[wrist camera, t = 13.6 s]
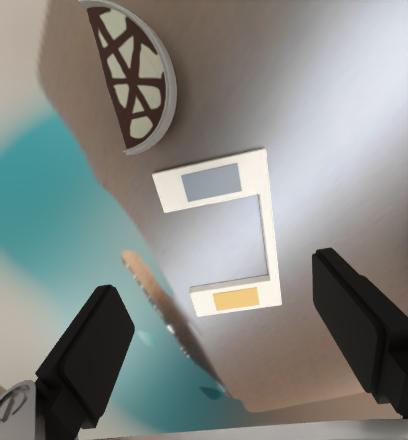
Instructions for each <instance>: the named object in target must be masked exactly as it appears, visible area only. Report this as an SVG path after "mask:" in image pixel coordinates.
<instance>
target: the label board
mask: <svg viewBox="0 0 408 440" xmlns="http://www.w3.org/2000/svg"><path fill="white" fill-rule="evenodd" d="M152 176H153V179H154V182H155V185H156V188H157V191H158V195H159V198H160V201H161V204H162V207H163V210H164V213H167V212H172V211H177V210H182V209H187V208H192V207H197V206H202V205H207V204H212V203H217V202H222V201H227V200H231V199H236V198H241V197H246V196H251V195H256V194H258V197H259V205H260V213H261V221H262V229H263V237H264V245H265V253H266V261H267V269H268V275H265V276H259V277H253V278H246V279H240V280H234V281H227V282H221V283H215V284H208V285H202V286H196V287H191V288H190V295H191V298H192V301H193V304H194V307H195V311H196V314H197V317H199V316H206V315H213V314H220V313H228V312H235V311H242V310H249V309H256V308H263V307H270V306H277V305H282V302H281V293H280V283H279V273H278V263H277V253H276V243H275V233H274V223H273V213H272V204H271V194H270V184H269V174H268V164H267V154H266V149H265V148H261V149H257V150H252V151H248V152H243V153H239V154H234V155H230V156H226V157H221V158H217V159H212V160H208V161H203V162H199V163H195V164H190V165H186V166H181V167H177V168H172V169H168V170H164V171H159V172H155V173H153V174H152Z"/></svg>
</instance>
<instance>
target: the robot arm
mask: <svg viewBox="0 0 408 440" xmlns="http://www.w3.org/2000/svg"><path fill="white" fill-rule="evenodd" d="M312 274H313V302H314V305H315V308H316V309H317V311H318V313H319V314H320V316H321V318H322V320H323V321H324V323H325V325H326V326H327V328H328V330H329V331H330V333H331V335H332V337H333V338H334V340H335V342H336V343H337V345H338V347H339V348H340V350H341V352H342V353H343V355H344V357H345V359H346V360H347V362H348V364H349V365H350V367H351V369H352V370H353V372H354V374H355V376H356V377H357V379H358V381H359V382H360V384H361V386H362V387H363V389H364V390H365V391H366V392H367V393H372V395H373V397H374V398H375V400H376V402H377V403H378V404H385V403H391V405H392V406H393V408H394V409H395V411H396V412H397V413H399V414H400V415H401V416H400V419H371V420H370V419H369V420H351V421H331V422H313V423H300V424H286V425H273V426H258V427H244V428H232V429H218V430H205V431H192V432H180V433H167V434H155V435H142V436H130V437H119V438H107V439H95V440H408V317H407V316H406V315H405V314H404V313H403V312H402V311H401V310H400V309H399V308H398V307H397V306H396V305H395V304H394V303H393V302H392V301H390V300H389V299H388V298H387V297H386V296H385V295H384V294H383V293H382V292H381V291H380V290H379V289H378V288H377V287H376V286H375V285H374V284H373V283H372V282H370V281H369V280H368V279H367V278H366V277H365V276H362V275H359V274H358V273H357V272H356V271H355V270H354V269H353V268H352V267H351V266H350V265H349V264H348V263H347V262H346V261H345V260H344V259H343V258H342V257H341V256H340V255H339V254H338V253H337V252H336V251H335V250H334V249H332V248H325V249H319V250H316V253H315V254H313V255H312ZM134 331H135V327H134V324H133V322H132V320H131V318H130V316H129V314H128V312H127V310H126V308H125V305H124V303H123V302H122V299H121V297H120V295H119V293H118V291H117V289H116V288H115V287H113V286H112V285H103V286H98V287H97V288H96V289H95V291H94V292H93V293H92V295H91V296H90V298H89V299H88V300H87V302H86V303H85V305H84V306H83V307H82V309H81V310H80V312H79V313H78V314H77V316H76V317H75V318H74V320H73V321H72V323H71V324H70V326H69V327H68V328H67V330H66V331H65V332H64V334H63V335H62V337H61V338H60V339H59V341H58V342H57V343H56V345H55V346H54V348H53V349H52V351H51V352H50V353H49V355H48V356H47V358H46V359H45V360H44V362H43V363H42V364H41V366H40V367H39V369H38V370H37V371H36V373H35V374H36V375H37V377H38V379H37V380H36V382H33V381H32V380H25V381H23V382H20V383H18V384H16V385H14V386H12V387H11V388H10V389H8V390H7V391H6V392H4V393H3V394H2V395H1V396H0V440H78V432H79V430H80V428H82V429H90V428H96V426H97V423H98V420H99V418H100V417H101V416H102V415H103V414H104V412H105V409H106V407H107V404H108V401H109V398H110V396H111V393H112V391H113V388H114V385H115V383H116V380H117V377H118V375H119V372H120V369H121V367H122V364H123V361H124V359H125V356H126V353H127V351H128V348H129V345H130V342H131V340H132V337H133V335H134Z"/></svg>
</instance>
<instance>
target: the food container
mask: <svg viewBox="0 0 408 440" xmlns="http://www.w3.org/2000/svg"><path fill="white" fill-rule="evenodd" d="M78 2H79V3H80V4H81V5H82V6H83V7H84V8H85V9H86V11H87V12H88V16H89V21H90V23H91V26H92V29H93V32H94V35H95V39H96V43H97V46H98V50H99V54H100V58H101V62H102V66H103V70H104V74H105V78H106V82H107V86H108V90H109V93H110V96H111V99H112V101H113V104H114V108H115V111H116V114H117V117H118V120H119V124H120V127H121V131H122V134H123V138H124V141H125V145H126V148H127V149H126V150H124V151H123V152H125V153H126V154H127V155H131V156H132V155H136V154H140V153H142V152H144V151H146V150H148V149H150V148H151V147H152V146H154V145H155V144H156V143H157V142H158V141H159V140H160V139H161V138H162V137H163V136H164V134H165V133H166V132H167V130H168V128H169V126H170V124H171V122H172V120H173V117H174V114H175V111H176V103H177V85H176V77H175V73H174V69H173V65H172V62H171V60H170V57H169V55H168V52H167V50H166V49H165V47H164V45H163V43H162V41H161V40H160V39H159V37H158V36H157V35H156V33H155V32H154V31H153V30H152V29H151V28H150V27H149V26H148V25H147V24H146V23H145V22H144V21H143V20H141V19H140V18H139V17H137V16H136V15H135V14H133V13H132V12H130V11H129V10H127V9H125V8H123V7H121V6H119V5H118V4H115V3H112V2H109V1H105V0H78Z"/></svg>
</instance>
